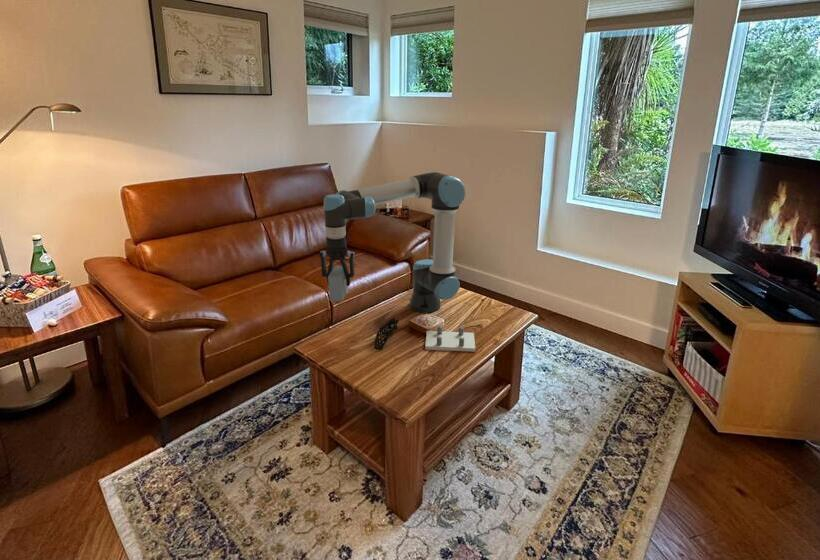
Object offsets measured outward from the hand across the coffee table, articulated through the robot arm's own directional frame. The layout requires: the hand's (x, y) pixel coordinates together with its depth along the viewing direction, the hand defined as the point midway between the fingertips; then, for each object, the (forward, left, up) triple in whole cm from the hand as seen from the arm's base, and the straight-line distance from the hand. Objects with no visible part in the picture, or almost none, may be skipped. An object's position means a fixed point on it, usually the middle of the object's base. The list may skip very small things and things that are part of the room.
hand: (339, 292), depth 184 cm
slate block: (0, 0, -1) cm, 1 cm away
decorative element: (-17, +8, -23) cm, 30 cm away
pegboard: (-35, +28, -23) cm, 50 cm away
